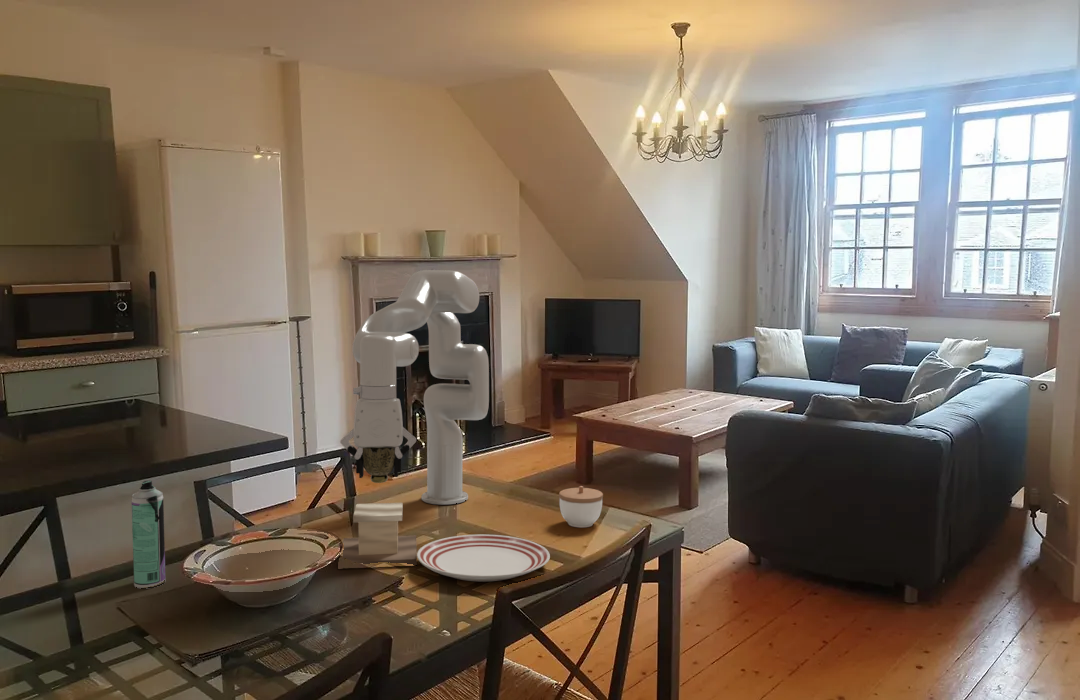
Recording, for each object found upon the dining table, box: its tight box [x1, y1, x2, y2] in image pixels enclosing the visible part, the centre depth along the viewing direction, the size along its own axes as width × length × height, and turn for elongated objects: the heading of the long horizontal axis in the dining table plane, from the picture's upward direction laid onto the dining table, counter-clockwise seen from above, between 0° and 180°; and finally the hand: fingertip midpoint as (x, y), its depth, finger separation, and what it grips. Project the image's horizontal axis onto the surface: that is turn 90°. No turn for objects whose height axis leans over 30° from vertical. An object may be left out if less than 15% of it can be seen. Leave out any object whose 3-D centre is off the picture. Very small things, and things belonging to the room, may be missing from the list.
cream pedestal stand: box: [342, 502, 418, 566], centre depth 172 cm, size 16×16×10 cm
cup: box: [362, 447, 396, 484], centre depth 171 cm, size 8×7×8 cm
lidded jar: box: [558, 485, 604, 529], centre depth 196 cm, size 11×11×9 cm
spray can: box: [131, 480, 166, 589], centre depth 154 cm, size 6×6×20 cm
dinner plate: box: [417, 533, 551, 583], centre depth 166 cm, size 27×27×3 cm
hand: (378, 475), depth 171 cm, fingers closed on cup, 6 cm apart
